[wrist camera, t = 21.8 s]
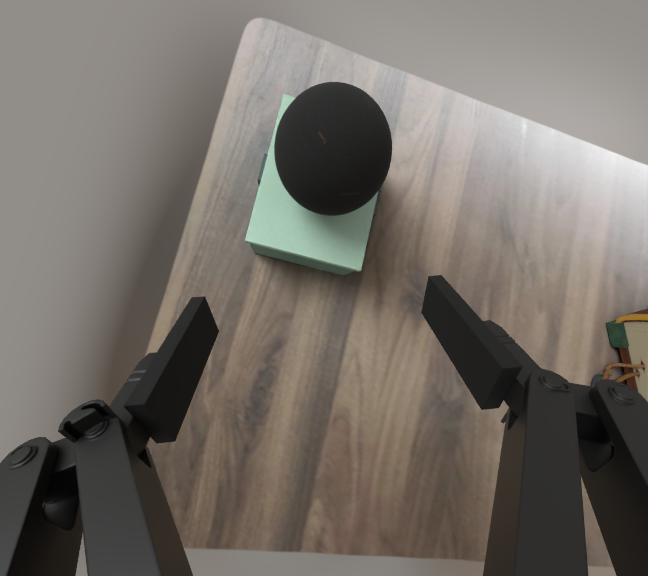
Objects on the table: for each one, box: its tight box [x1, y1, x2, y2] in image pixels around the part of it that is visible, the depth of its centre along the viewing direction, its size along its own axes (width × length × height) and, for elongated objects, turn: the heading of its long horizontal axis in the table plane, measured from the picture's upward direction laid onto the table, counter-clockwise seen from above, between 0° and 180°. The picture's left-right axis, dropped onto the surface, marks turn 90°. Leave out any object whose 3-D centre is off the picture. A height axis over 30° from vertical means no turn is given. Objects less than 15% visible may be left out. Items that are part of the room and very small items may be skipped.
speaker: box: [274, 82, 392, 216], centre depth 22 cm, size 10×10×10 cm
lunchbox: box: [245, 94, 391, 275], centre depth 30 cm, size 16×13×7 cm
